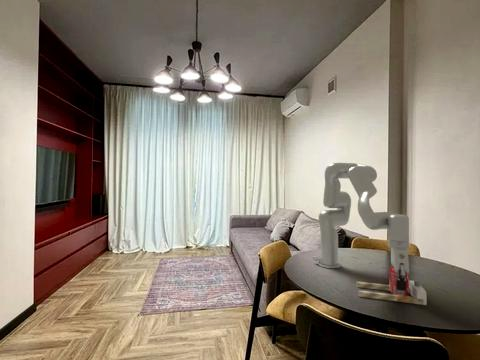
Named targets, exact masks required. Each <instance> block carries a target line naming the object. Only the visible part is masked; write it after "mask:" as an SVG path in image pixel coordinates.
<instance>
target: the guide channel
mask: <svg viewBox="0 0 480 360" xmlns="http://www.w3.org/2000/svg"><path fill="white" fill-rule="evenodd" d="M355 283H356V285H355V286H356V288H360V289H361V288H362V289H370V290H379V291H388V292H390V284H382V283H373V282H365V281H356V282H355ZM409 294H410V288H409ZM358 297H360V298H369V299H374V300H375V299H376V300H385V301H390V302H391V301H393V302H399V303H408V304H416V305H422V306H425V305H424V299H417V297H412V295H411V296H409V295H407V296H405V295H394V294H393V293H385V292H374V291H368V290H358Z"/></svg>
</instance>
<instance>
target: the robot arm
mask: <svg viewBox="0 0 480 360" xmlns="http://www.w3.org/2000/svg"><path fill="white" fill-rule="evenodd" d="M377 178H378V173H377V170H376V169H375V168H374V167H373V166H371V165H366V164H361V163H355V162H354V163H353V162H333V163H330V164H328V165H327V166H326V168H325V170H324V190H323V191H324V192H323V198H322V199H323V201H322V202H323V206H324V207H326V208H327V210H322V211H321V212H320V213H319V214H318V223H319V229H320V256H313V255H312V260H313V261H317V265H318V266H320V267H322V268H324V269H325V268H326V269H339V268H341V267H342V263H341V262H340V261H339V234H338V232H337V229H336V227H342V226H343V227H344V226H346V225H347V224H348V223H349V220H350V215H351V208H352V198H351V195H350V194H349V193H348V191H347V192H346V191H341V187H342V184H341V181H340V179H348V180H349V181H350V183H351V185H352V187H353V189H354V190H355V192H356V194H357V195H358V200H357V212H358V215H359V217H360V218H361V221H362V223H363V224H364V225H365V227H366V228H367V229H369V230H373V231H375V230H376V231H377V230H387V233H388V234H387V235H388V237H387V239H388V247H389V248H390V265H391V264H392V265H393V266H394V270H395V272H396V273H397V279H398V280H397V290H403V291H406V277H405V271H406V273H407V274H409V275H410V265H409V264H410V261H409V253H408V252H409V251H408V250H409V249H410V219H409V216H407V214H402V213H401V214H400V213H398V214H397V213H393V212H390V211H378V212H377V211H376V212H375V211H373V208H372V206H371V204H370V199H372V198H373V197H374V196H375V195H377V193H378V191H377V190H378V189H377V188H376V186H375V185H374V183H373V182H375V181H376V179H377ZM398 270H401V272H398ZM399 274H401V275H400V276H399Z"/></svg>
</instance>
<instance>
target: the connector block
mask: <svg viewBox="0 0 480 360" xmlns="http://www.w3.org/2000/svg"><path fill="white" fill-rule="evenodd" d="M409 288H410V293H409V294H410V295H411V297H417V299H424V305H423V306H427V302H428V301H427V299H428V298H427V291H426V290H425V289H424V288H423V286H422V284H421V281H420V280H418V279H415V280H410V279H409Z"/></svg>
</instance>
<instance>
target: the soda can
mask: <svg viewBox="0 0 480 360" xmlns="http://www.w3.org/2000/svg"><path fill="white" fill-rule="evenodd" d="M388 271H389V273H388V274H389V276H388V277H389V282H388V283H389V285H390V291H389V292H390V293H391V294H394V295H405V296H409V294H410V293H409V280H410V273H409V274H407V273H406V271H405V277H406V291H403V290H397V280H398V279H397V273H396V272H395V270H394V266H393V265H392V264H391V263H390V267H389V270H388ZM398 272H401V270H398ZM400 275H401V274H399V276H400Z"/></svg>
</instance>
